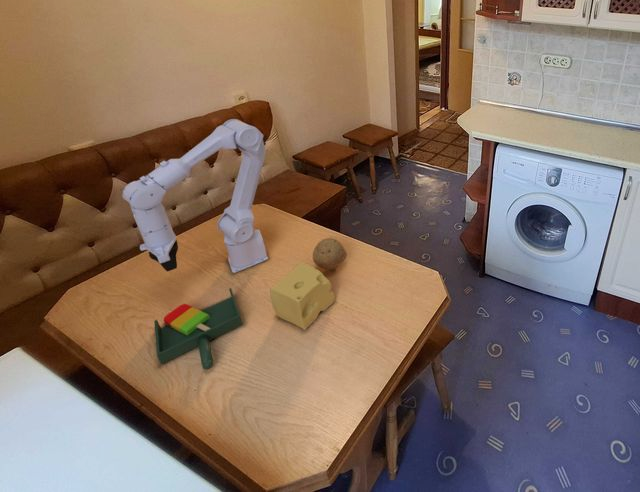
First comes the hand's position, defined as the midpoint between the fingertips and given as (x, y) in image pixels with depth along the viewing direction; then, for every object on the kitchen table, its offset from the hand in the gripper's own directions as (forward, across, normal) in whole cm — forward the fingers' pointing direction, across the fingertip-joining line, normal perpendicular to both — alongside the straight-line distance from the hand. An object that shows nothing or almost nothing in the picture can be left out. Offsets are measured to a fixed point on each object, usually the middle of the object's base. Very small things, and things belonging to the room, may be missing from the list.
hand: (171, 268), depth 93 cm
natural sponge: (+10, +15, +35) cm, 39 cm away
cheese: (+10, +26, +24) cm, 37 cm away
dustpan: (+9, +20, +2) cm, 22 cm away
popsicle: (+9, +14, +1) cm, 17 cm away
